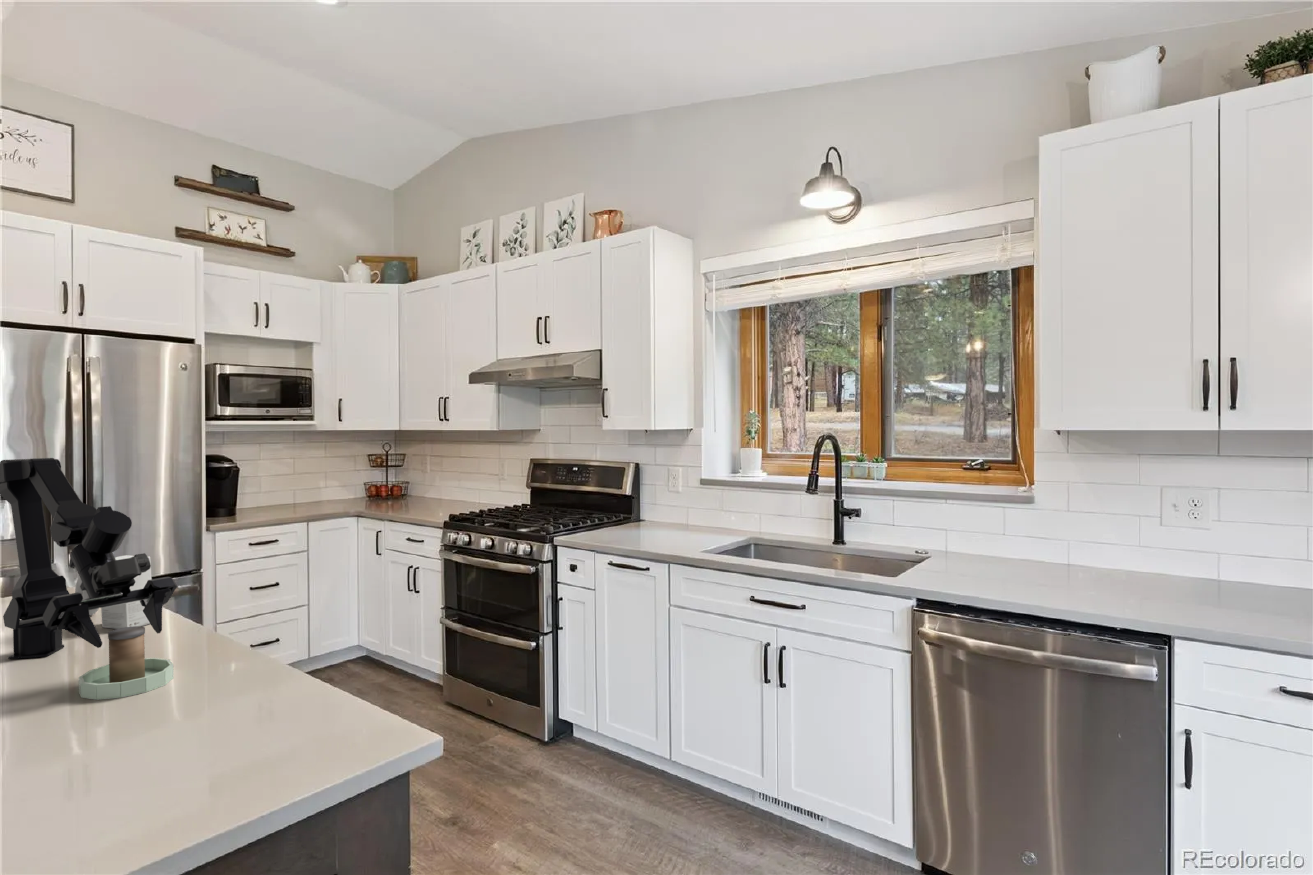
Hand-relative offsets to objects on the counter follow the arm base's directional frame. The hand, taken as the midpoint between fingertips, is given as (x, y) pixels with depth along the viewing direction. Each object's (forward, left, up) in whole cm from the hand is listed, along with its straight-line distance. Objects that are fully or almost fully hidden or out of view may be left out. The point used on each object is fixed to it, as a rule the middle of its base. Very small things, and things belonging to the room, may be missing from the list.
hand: (131, 638), depth 123 cm
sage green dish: (-1, +1, -8) cm, 8 cm away
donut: (-32, +54, -9) cm, 64 cm away
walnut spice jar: (-1, +1, -8) cm, 8 cm away
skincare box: (-19, +42, -9) cm, 47 cm away
